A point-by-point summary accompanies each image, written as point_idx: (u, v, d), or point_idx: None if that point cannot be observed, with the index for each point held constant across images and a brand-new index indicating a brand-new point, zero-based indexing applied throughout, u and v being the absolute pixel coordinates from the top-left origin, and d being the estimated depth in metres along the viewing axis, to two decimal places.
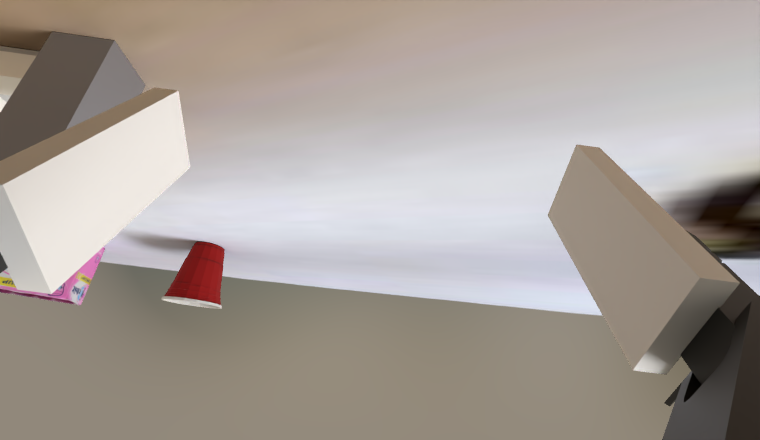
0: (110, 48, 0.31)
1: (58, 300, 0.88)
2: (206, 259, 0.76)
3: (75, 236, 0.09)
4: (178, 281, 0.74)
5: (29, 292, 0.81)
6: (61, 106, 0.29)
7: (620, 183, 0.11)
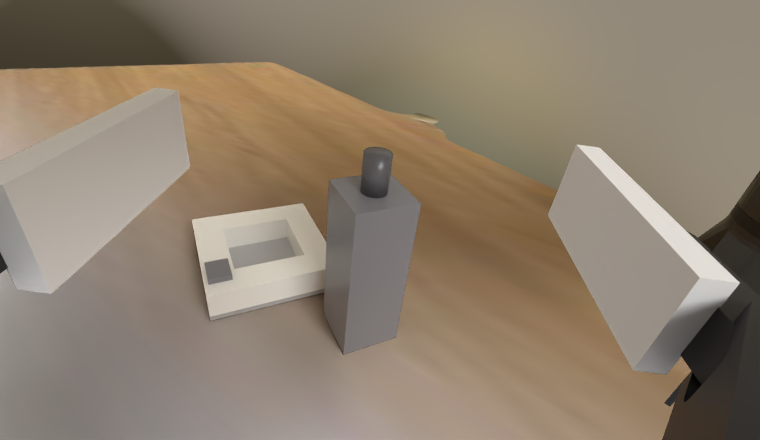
0: (396, 330, 0.35)
1: None
2: None
3: (75, 236, 0.09)
4: None
5: None
6: None
7: (620, 183, 0.11)
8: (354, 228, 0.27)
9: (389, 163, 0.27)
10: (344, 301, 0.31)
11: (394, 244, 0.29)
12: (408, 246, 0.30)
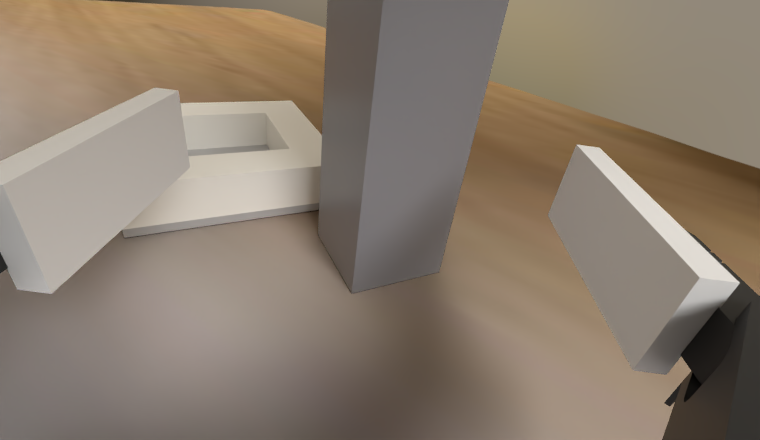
0: None
1: None
2: None
3: (75, 236, 0.09)
4: None
5: None
6: None
7: (620, 183, 0.11)
8: None
9: None
10: (355, 184, 0.17)
11: (458, 56, 0.15)
12: (482, 69, 0.15)
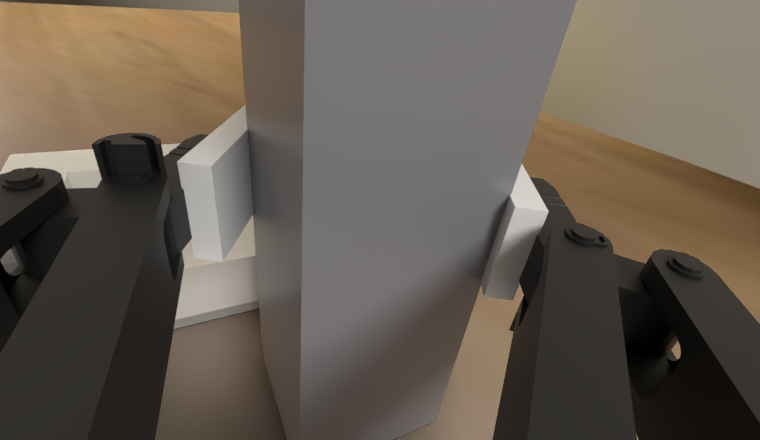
0: (439, 407, 0.14)
1: None
2: None
3: (235, 213, 0.11)
4: None
5: None
6: None
7: None
8: (303, 11, 0.05)
9: None
10: (291, 342, 0.10)
11: (467, 143, 0.08)
12: (509, 159, 0.09)
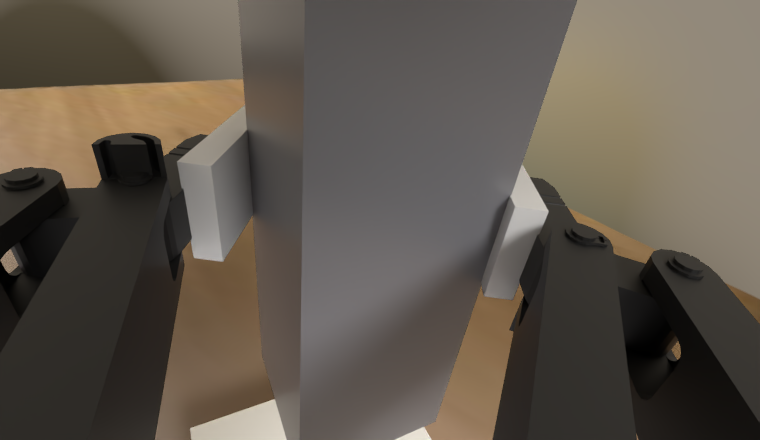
0: (439, 407, 0.14)
1: None
2: None
3: (235, 213, 0.11)
4: None
5: None
6: None
7: None
8: (303, 12, 0.05)
9: None
10: (291, 343, 0.10)
11: (467, 144, 0.08)
12: (509, 159, 0.09)
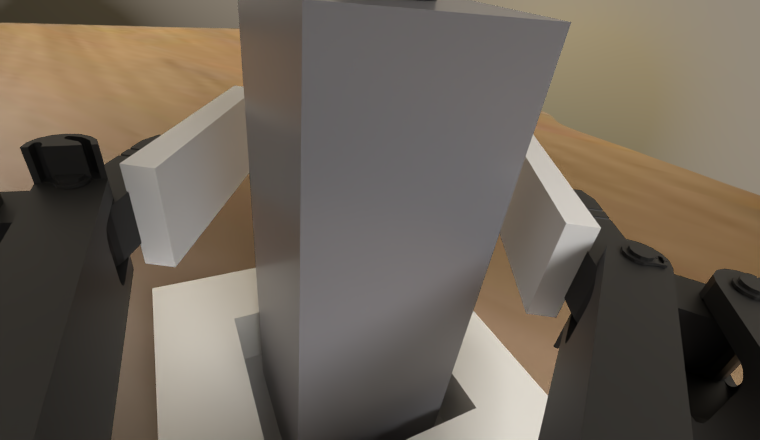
0: (433, 425, 0.14)
1: None
2: None
3: (191, 217, 0.10)
4: None
5: None
6: None
7: (531, 153, 0.12)
8: (300, 86, 0.06)
9: None
10: (290, 370, 0.10)
11: (456, 188, 0.08)
12: (497, 200, 0.09)
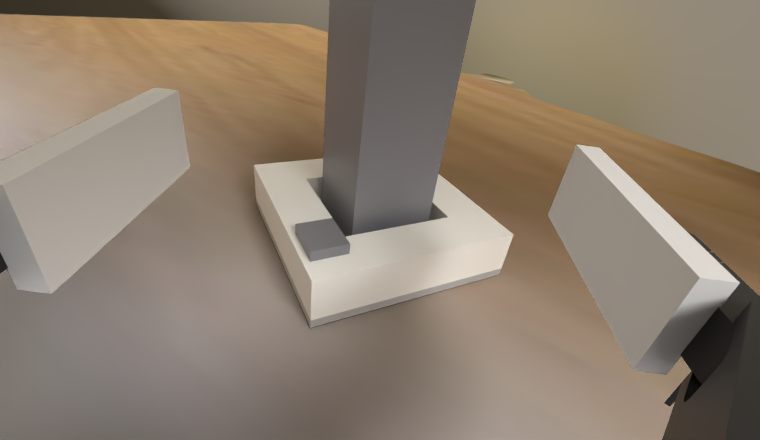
0: None
1: None
2: None
3: (75, 236, 0.09)
4: None
5: None
6: None
7: (620, 183, 0.11)
8: (372, 13, 0.16)
9: None
10: (351, 170, 0.21)
11: (431, 68, 0.19)
12: (452, 78, 0.19)
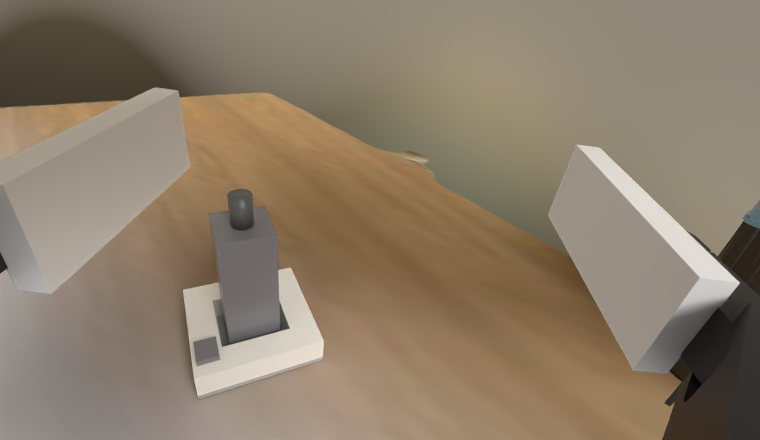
0: None
1: None
2: None
3: (75, 236, 0.09)
4: None
5: None
6: None
7: (620, 183, 0.11)
8: (217, 255, 0.34)
9: (247, 203, 0.34)
10: (224, 311, 0.38)
11: (259, 267, 0.36)
12: (273, 268, 0.37)
